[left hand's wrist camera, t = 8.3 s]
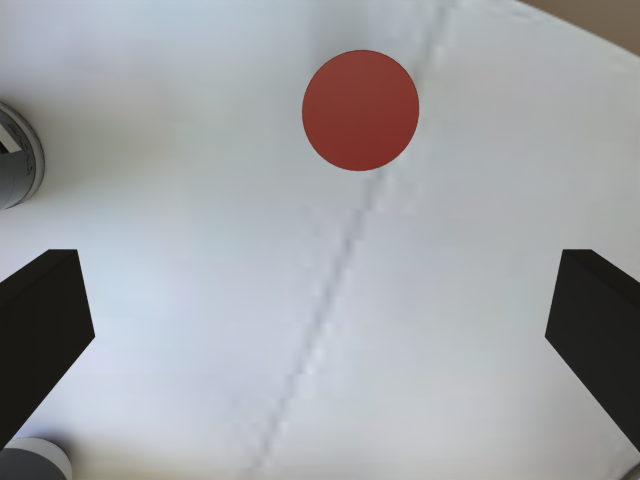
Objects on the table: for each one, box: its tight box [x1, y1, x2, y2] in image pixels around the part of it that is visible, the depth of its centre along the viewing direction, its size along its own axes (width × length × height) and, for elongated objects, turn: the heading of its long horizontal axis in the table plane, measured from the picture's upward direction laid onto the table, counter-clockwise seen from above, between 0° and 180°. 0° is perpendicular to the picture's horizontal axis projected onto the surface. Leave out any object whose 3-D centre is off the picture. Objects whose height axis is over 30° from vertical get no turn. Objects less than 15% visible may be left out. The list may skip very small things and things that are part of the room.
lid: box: [302, 50, 419, 171], centre depth 20 cm, size 5×5×2 cm
